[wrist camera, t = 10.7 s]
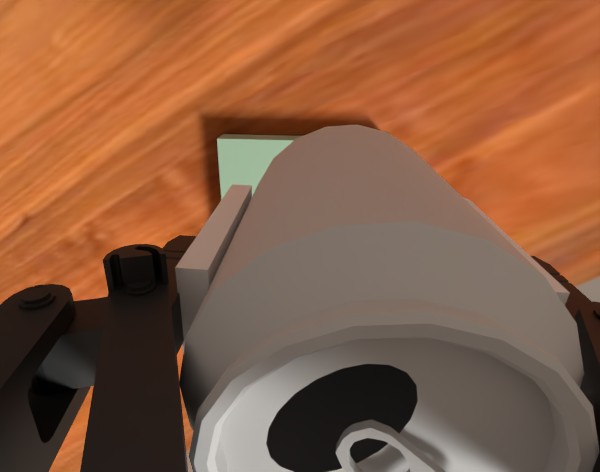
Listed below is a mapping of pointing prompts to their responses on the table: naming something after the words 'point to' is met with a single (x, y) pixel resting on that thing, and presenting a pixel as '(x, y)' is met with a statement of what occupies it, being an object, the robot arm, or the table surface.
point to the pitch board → (247, 157)
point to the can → (379, 329)
